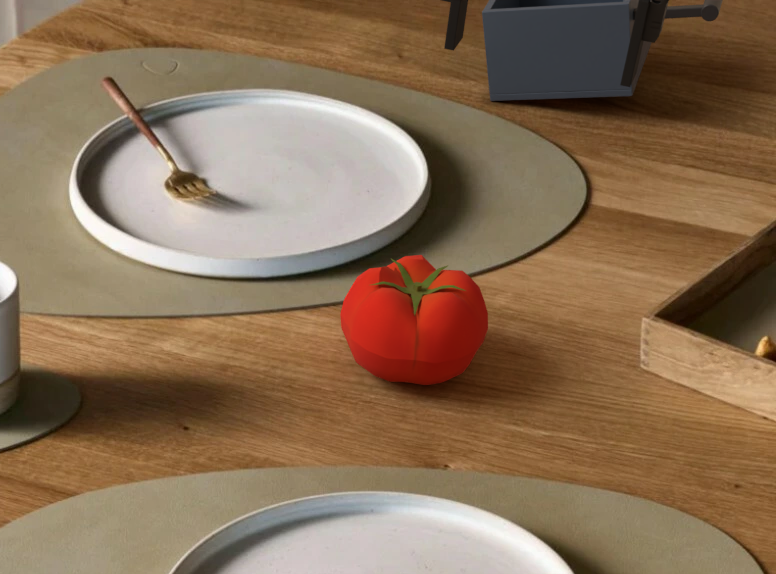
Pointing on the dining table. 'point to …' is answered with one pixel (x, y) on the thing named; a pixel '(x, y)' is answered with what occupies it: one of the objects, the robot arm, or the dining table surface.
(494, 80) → the handled storage bin
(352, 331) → the tomato
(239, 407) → the dining table surface
